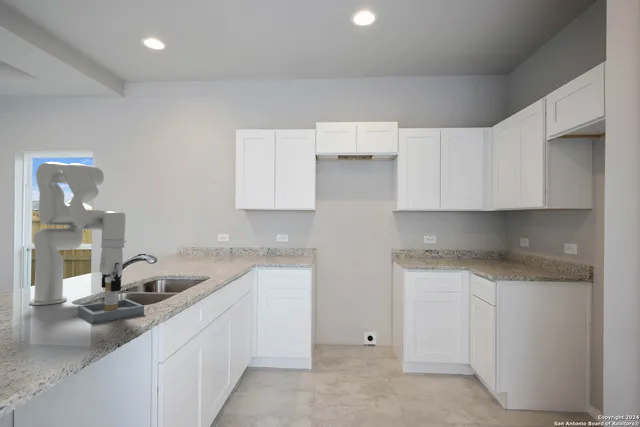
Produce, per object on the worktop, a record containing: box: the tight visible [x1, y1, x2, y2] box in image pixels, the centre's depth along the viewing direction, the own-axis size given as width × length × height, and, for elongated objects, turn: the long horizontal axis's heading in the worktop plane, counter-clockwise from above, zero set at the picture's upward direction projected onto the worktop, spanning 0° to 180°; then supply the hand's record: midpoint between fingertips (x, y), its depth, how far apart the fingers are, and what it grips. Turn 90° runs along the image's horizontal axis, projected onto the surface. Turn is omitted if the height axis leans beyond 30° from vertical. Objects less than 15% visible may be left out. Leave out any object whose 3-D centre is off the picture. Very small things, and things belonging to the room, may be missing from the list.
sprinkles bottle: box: [104, 275, 119, 312], centre depth 130 cm, size 5×5×13 cm
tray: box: [77, 298, 145, 324], centre depth 130 cm, size 17×17×3 cm
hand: (110, 289), depth 130 cm, fingers open, 9 cm apart
